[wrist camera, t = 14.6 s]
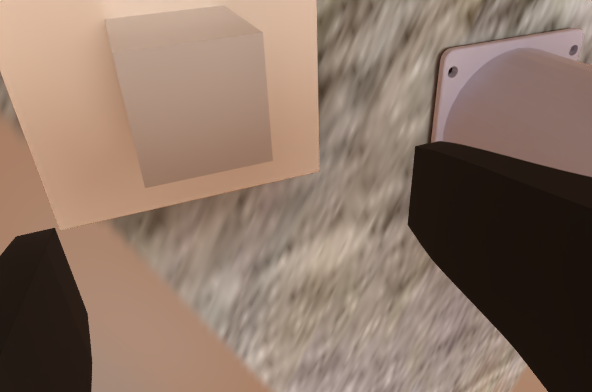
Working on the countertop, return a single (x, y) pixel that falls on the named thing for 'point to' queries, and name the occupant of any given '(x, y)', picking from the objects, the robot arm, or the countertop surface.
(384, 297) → the countertop surface
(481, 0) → the countertop surface
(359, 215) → the countertop surface
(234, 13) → the cover
